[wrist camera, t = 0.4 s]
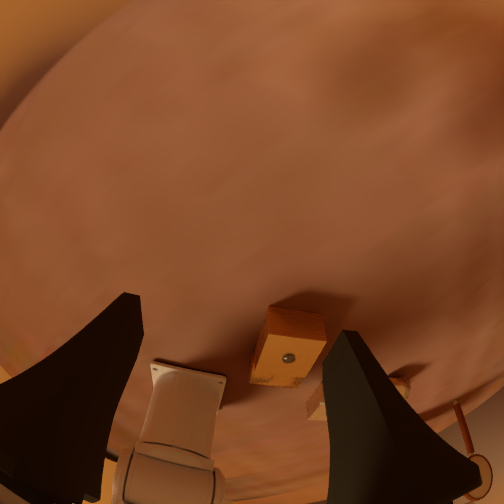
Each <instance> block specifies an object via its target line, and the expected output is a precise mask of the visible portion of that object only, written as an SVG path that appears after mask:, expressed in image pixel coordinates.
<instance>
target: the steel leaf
mask: <svg viewBox="0 0 504 504" xmlns="http://www.w3.org/2000/svg"><path fill="white" fill-rule="evenodd" d="M389 379H390V380H391V382H392V383H393V384H394V386H395V387H396V388H397V390H398V391H399V392H400V394H401V395H402V396H403V397H404V399H405V400H406V399H407V398H408V396H409V394H410V390H411V386H410V382H409V380H408V379H407V378H406V377H389ZM306 410H307V420H327V414H326V407H325V400H324V392H323V382H321V384H320V385H319V386H318V388H317V389H316V390H315V392H314V393H313V394H312V396H311V397H310V398H309V400H308V401H307V402H306Z"/></svg>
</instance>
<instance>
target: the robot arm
mask: <svg viewBox="0 0 504 504" xmlns="http://www.w3.org/2000/svg"><path fill="white" fill-rule="evenodd" d="M143 336H144V330H143V322H142V312H141V302H140V296H139V295H134V294H130V293H126V292H124V293H122V294H121V295H120V296H119V297H118V298H117V299H115V300H114V301H113V302H112V303H111V304H110V305H109V306H108V307H107V308H106V309H105V310H103V311H102V312H101V313H100V314H99V315H98V316H97V317H96V318H95V319H93V320H92V321H91V322H90V323H89V324H88V325H87V326H85V327H84V328H83V329H82V330H81V331H80V332H78V333H77V334H76V335H75V336H74V337H72V338H71V339H70V340H69V341H67V342H66V343H65V344H64V345H62V346H61V347H60V348H58V349H57V350H56V351H54V352H53V353H52V354H50V355H49V356H47V357H46V358H45V359H43V360H42V361H40V362H39V363H37V364H35V365H34V366H32V367H31V368H29V369H27V370H26V371H24V372H22V373H21V374H19V375H17V376H15V377H13V378H12V379H9V380H8V381H6V382H3V383H1V384H0V504H72V503H74V504H82V502H83V500H86V501H88V502H91V503H94V502H97V501H99V500H100V496H101V483H102V474H103V467H104V460H105V454H106V449H107V444H108V439H109V434H110V430H111V426H112V422H113V418H114V415H115V412H116V409H117V406H118V403H119V401H120V398H121V396H122V393H123V391H124V388H125V386H126V383H127V381H128V379H129V376H130V374H131V371H132V369H133V367H134V364H135V362H136V359H137V356H138V353H139V350H140V346H141V343H142V339H143ZM151 372H152V379H153V385H154V389H153V393H152V396H151V400H150V403H149V407H148V410H147V414H146V418H145V421H144V425H143V429H142V432H141V436H140V440H139V441H137V443H136V447H135V448H134V447H132V446H128V447H127V448H125V449H123V450H122V451H121V454H120V456H119V459H118V462H117V466H116V469H115V474H114V479H113V486H112V492H113V495H112V501H111V504H223V503H224V498H225V478H224V475H223V474H222V473H221V471H220V469H219V468H215V467H214V460H211V451H212V443H213V436H214V428H215V420H216V414H218V411H219V407H220V403H221V399H222V396H223V392H224V388H225V384H226V377H225V376H222V375H217V374H211V373H206V372H201V371H195V370H191V369H186V368H181V367H177V366H172V365H168V364H164V363H160V362H156V361H153V362H151ZM323 392H324V400H325V407H326V414H327V422H328V430H329V438H330V474H329V488H328V497H327V504H453V500H455V499H457V498H459V497H461V496H463V495H465V494H467V493H469V492H471V491H473V490H475V489H477V488H478V487H480V486H481V485H482V478H481V473H480V469H479V465H478V464H476V463H475V462H473V461H471V460H470V459H468V458H467V457H465V456H464V455H462V454H461V453H459V452H458V451H457V450H455V449H454V448H453V447H451V446H450V445H449V444H448V443H447V442H445V441H444V440H443V439H442V438H441V437H440V436H439V435H437V434H436V433H435V432H434V431H433V430H432V429H431V428H430V427H429V426H428V425H427V424H426V423H425V422H424V421H423V420H422V419H421V418H420V416H419V415H418V414H417V413H416V412H415V411H414V410H413V409H412V407H411V406H410V405H409V404H408V403H407V401H406V400H405V399H404V397H403V396H402V395H401V394H400V392H399V391H398V390H397V388H396V387H395V386H394V384H393V383H392V382H391V380H390V379H389V377H388V376H387V374H386V373H385V372H384V370H383V369H382V367H381V366H380V364H379V363H378V361H377V360H376V358H375V357H374V355H373V354H372V352H371V351H370V349H369V348H368V346H367V345H366V343H365V342H364V340H363V339H362V338H361V336H360V335H359V333H358V332H357V331H348V330H342V331H341V333H340V335H339V337H338V338H337V340H336V342H335V343H334V345H333V347H332V348H331V350H330V352H329V353H328V355H327V357H326V358H325V360H324V362H323ZM466 504H475V503H474V501H470V502H468V503H466Z"/></svg>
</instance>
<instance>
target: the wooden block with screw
mask: <svg viewBox="0 0 504 504" xmlns="http://www.w3.org/2000/svg"><path fill="white" fill-rule="evenodd" d="M326 342H327V338H326V333H325V327H324V322H323V317H322V314H319V313H312V312H305V311H299V310H292V309H286V308H280V307H274V306H268V309H267V312H266V315H265V318H264V322H263V325H262V328H261V331H260V334H259V337H258V340H257V343H256V347H255V351H254V352H253V354H252V357H251V361H250V367H249V376H248V381H249V383H251V384H259V385H267V386H276V387H286V388H299V386H300V385H301V382H302V379H303V377H304V378H305V377H306V375H307V374H308V372H309V371H310V369H311V367H312V366H313V364H314V363H315V361H316V359H317V358H318V356H319V354H320V353H321V351H322V349H323V348H324V346H325V344H326Z"/></svg>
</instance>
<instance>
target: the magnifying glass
mask: <svg viewBox="0 0 504 504" xmlns="http://www.w3.org/2000/svg"><path fill="white" fill-rule="evenodd" d="M453 403H454V406H453V407H454V410H455V413H456V416H457V419H458V422H459V425H460V429H461V432H462V435H463V439H464V442H465V445H466V449H467V453H468V455H470V457H469V458H468V459H470V460H471V461H473V462H475V463H476V464H478V465H479V469H480V473H481V478H482V485H481V486H480V487H478V488H477V489H475V490H473V491H471V492H469V493H467V494H465V495H464V496H465V497H466V498H467V499H468V500H470V501H478V500H480V499H482V498H484V497H485V496H486V495H487V493H488V492H489V490H490V488H491V485H492V479H493V474H492V468H491V465H490V463H489V461H488V460H487V459H486V458H485V457H484V456H482V455H479V454H475V455H474V453H473V452H474V447H473V444H472V440H471V437H470V434H469V431H468V427H467V424H466V421H465V418H464V415H463V412H462V409H461V406H460V403H458V402H457V400H454V402H453Z"/></svg>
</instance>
